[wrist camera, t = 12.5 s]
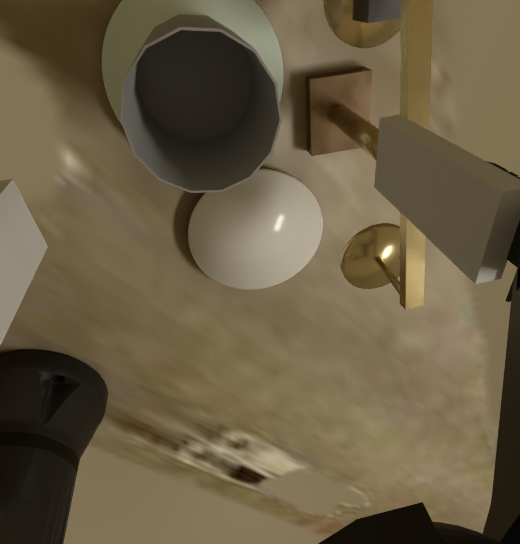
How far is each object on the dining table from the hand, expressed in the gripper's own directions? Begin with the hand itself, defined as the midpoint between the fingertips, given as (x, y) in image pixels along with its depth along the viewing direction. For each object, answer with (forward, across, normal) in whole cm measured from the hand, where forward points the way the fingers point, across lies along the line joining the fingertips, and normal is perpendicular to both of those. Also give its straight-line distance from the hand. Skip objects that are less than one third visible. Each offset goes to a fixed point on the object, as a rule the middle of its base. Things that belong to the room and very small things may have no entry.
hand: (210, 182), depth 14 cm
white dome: (+19, +4, -14) cm, 24 cm away
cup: (+18, 0, 0) cm, 18 cm away
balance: (+19, +12, -4) cm, 22 cm away
